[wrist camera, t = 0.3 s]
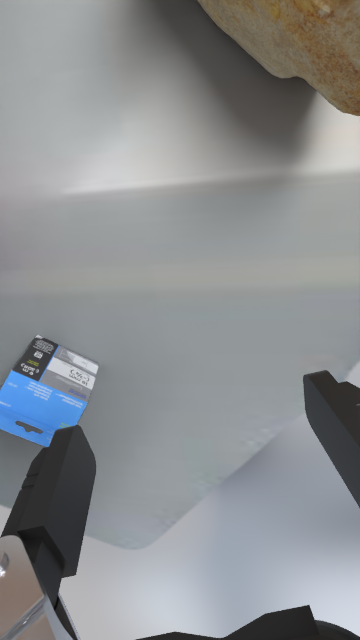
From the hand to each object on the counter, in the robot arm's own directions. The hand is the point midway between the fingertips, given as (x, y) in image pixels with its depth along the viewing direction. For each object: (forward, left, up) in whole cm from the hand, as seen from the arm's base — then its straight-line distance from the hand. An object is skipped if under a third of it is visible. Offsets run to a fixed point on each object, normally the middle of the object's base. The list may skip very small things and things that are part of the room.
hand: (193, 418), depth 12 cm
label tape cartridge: (+12, -16, -29) cm, 35 cm away
